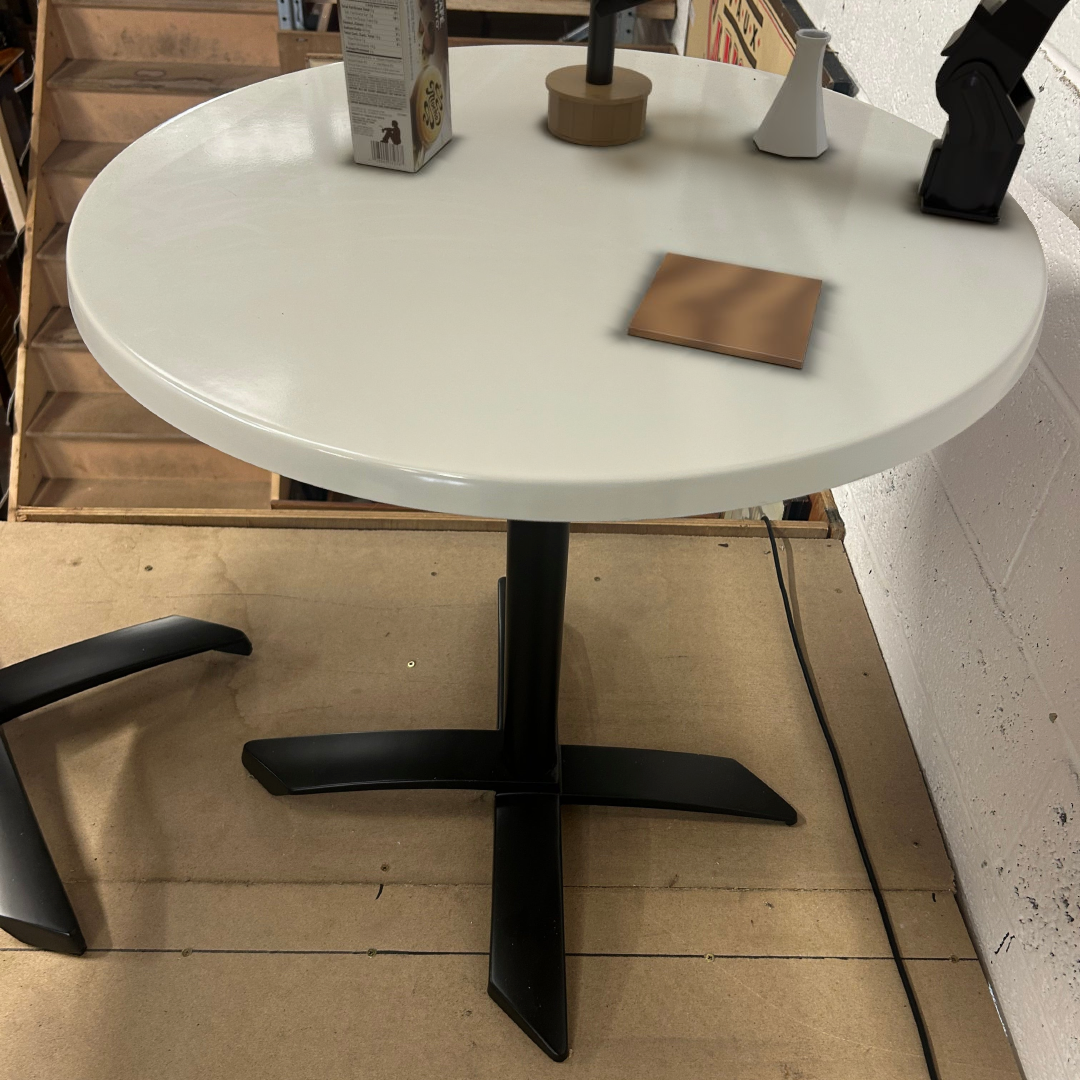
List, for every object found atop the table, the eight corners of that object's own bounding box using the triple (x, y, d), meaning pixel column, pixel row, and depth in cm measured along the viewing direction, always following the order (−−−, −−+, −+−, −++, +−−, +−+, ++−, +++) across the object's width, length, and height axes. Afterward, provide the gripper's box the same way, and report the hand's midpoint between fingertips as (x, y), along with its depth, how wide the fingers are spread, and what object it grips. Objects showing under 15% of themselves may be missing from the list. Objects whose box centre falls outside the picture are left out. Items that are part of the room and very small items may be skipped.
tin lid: (661, 84, 92) (673, -20, 86) (636, 118, 85) (647, 7, 78) (563, 70, 94) (568, -32, 88) (530, 102, 87) (532, -7, 81)
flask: (828, 137, 92) (855, 27, 85) (825, 164, 87) (853, 49, 80) (756, 128, 93) (776, 18, 86) (748, 154, 88) (769, 40, 81)
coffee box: (393, 129, 90) (377, -64, 79) (454, 139, 88) (447, -57, 77) (351, 163, 83) (327, -42, 72) (416, 174, 82) (402, -34, 71)
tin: (653, 119, 94) (657, 78, 91) (629, 152, 87) (633, 109, 85) (564, 105, 96) (566, 65, 93) (534, 137, 89) (535, 95, 87)
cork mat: (820, 287, 69) (822, 279, 69) (801, 369, 61) (803, 361, 60) (666, 259, 72) (666, 251, 71) (627, 334, 63) (628, 326, 63)
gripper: (739, -240, 76) (607, -97, 87) (657, -227, 64) (516, -63, 75) (809, -115, 79) (673, 8, 90) (744, -79, 67) (596, 58, 78)
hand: (617, 1), depth 83 cm, fingers open, 9 cm apart
